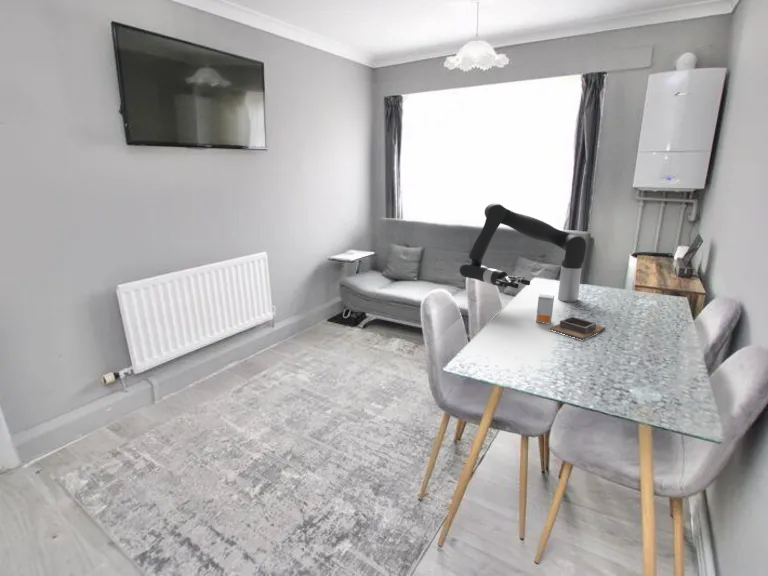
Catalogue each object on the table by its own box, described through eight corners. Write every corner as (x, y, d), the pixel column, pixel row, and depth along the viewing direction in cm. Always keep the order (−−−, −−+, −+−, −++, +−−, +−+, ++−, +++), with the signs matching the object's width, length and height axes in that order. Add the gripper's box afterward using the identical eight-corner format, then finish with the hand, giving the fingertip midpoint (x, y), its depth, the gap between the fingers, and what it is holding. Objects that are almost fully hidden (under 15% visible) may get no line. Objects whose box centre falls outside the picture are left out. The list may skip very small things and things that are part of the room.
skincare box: (535, 322, 172) (538, 296, 169) (537, 319, 176) (539, 293, 173) (550, 324, 170) (553, 298, 166) (551, 321, 173) (554, 295, 170)
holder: (572, 320, 174) (573, 313, 173) (605, 330, 163) (606, 322, 162) (549, 330, 163) (549, 322, 162) (582, 341, 153) (583, 332, 152)
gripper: (485, 271, 185) (514, 278, 172) (505, 267, 193) (534, 274, 180) (484, 287, 187) (513, 295, 175) (503, 282, 195) (532, 289, 183)
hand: (524, 284), depth 178 cm, fingers open, 8 cm apart
